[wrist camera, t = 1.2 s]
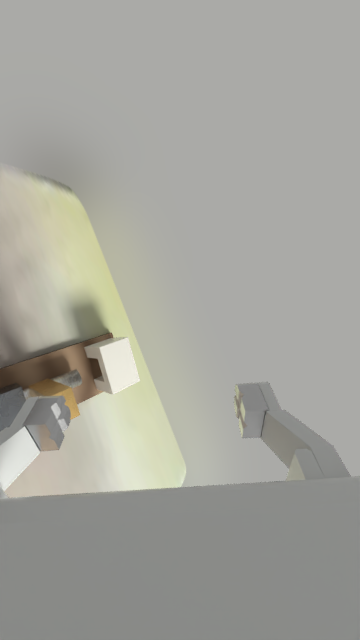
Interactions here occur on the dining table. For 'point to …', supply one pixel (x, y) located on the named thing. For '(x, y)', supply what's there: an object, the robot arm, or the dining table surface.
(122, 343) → the cream socket block
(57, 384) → the block rod assembly
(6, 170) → the dining table surface
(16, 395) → the dark gray block
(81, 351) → the walnut base board
